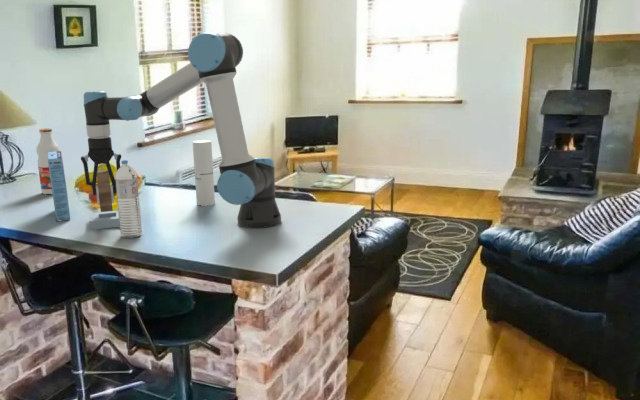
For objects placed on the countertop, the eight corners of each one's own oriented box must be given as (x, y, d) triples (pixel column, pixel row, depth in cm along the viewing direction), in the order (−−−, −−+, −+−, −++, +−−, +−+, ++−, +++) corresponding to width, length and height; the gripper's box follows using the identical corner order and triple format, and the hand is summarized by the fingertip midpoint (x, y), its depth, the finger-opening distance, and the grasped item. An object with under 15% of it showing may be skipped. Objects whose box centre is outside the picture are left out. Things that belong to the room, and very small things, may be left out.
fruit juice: (69, 191, 266) (61, 128, 259) (48, 195, 259) (40, 130, 252) (58, 189, 272) (50, 127, 265) (37, 193, 264) (29, 129, 258)
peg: (112, 210, 211) (108, 171, 208) (100, 212, 210) (96, 172, 207) (112, 208, 215) (108, 169, 212) (100, 209, 214) (96, 170, 210)
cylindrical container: (213, 206, 236) (209, 142, 230) (195, 206, 236) (190, 142, 230) (216, 201, 243) (212, 139, 237) (199, 201, 243) (194, 140, 237)
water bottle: (130, 239, 194) (123, 163, 188) (116, 236, 197) (108, 161, 192) (146, 234, 200) (140, 159, 194) (132, 231, 203) (125, 158, 197)
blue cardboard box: (70, 220, 219) (62, 158, 214) (55, 222, 217) (47, 159, 212) (69, 208, 236) (62, 150, 231) (55, 210, 234) (47, 151, 229)
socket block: (126, 225, 210) (125, 217, 209) (90, 229, 206) (89, 221, 205) (125, 217, 221) (124, 209, 220) (90, 221, 217) (89, 213, 216)
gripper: (124, 134, 213) (130, 198, 218) (72, 137, 207) (80, 203, 213) (125, 136, 206) (131, 203, 211) (72, 139, 200) (79, 208, 206)
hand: (105, 203), depth 212 cm, fingers closed on peg, 4 cm apart
